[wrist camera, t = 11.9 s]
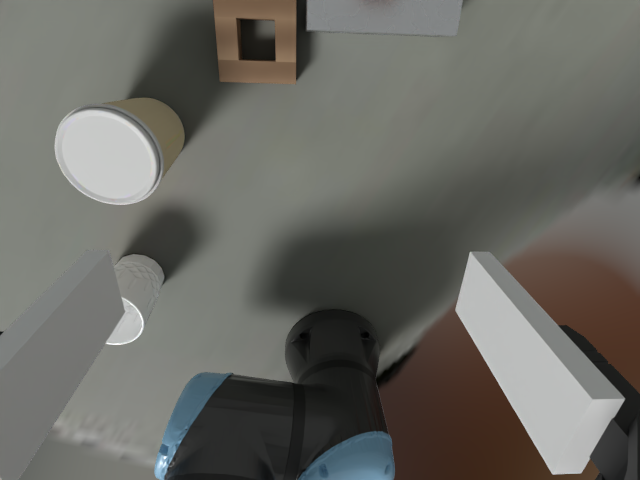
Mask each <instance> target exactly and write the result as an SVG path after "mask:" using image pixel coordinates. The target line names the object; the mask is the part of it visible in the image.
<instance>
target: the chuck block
mask: <svg viewBox="0 0 640 480" xmlns="http://www.w3.org/2000/svg"><path fill="white" fill-rule="evenodd" d="M462 3H463V0H306V32H329V33H354V34H379V35H405V36H430V37H437V36H457V31H458V25H459V19H460V14H461V8H462Z"/></svg>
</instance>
